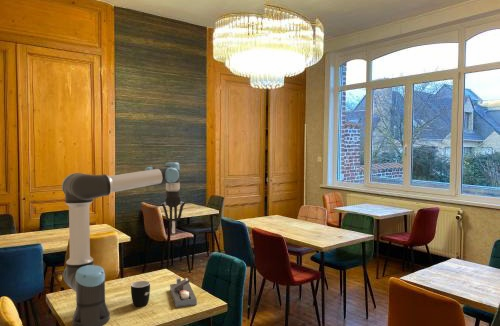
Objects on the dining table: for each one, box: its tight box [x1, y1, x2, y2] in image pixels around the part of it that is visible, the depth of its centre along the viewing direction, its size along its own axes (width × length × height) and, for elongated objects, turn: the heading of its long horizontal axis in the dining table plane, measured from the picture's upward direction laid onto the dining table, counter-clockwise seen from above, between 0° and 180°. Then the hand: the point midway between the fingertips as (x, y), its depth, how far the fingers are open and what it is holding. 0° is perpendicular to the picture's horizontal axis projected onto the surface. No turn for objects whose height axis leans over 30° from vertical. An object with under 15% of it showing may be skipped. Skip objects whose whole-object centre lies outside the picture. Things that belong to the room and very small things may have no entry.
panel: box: [169, 282, 198, 308], centre depth 191 cm, size 10×24×5 cm, turn 18°
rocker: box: [174, 277, 190, 290], centre depth 195 cm, size 8×4×1 cm, turn 108°
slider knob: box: [175, 276, 182, 284], centre depth 201 cm, size 2×3×3 cm, turn 18°
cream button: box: [181, 291, 189, 300], centre depth 183 cm, size 4×4×3 cm
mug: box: [130, 280, 151, 308], centre depth 184 cm, size 12×9×10 cm
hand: (173, 232), depth 207 cm, fingers closed
